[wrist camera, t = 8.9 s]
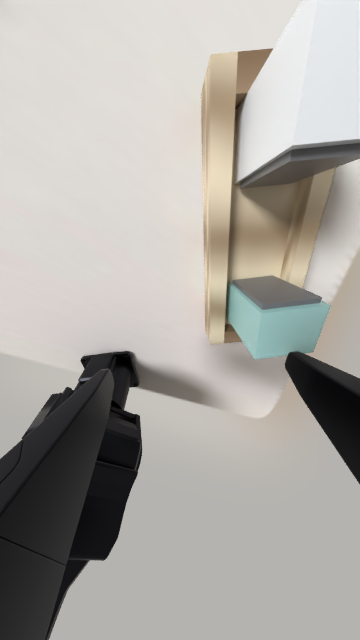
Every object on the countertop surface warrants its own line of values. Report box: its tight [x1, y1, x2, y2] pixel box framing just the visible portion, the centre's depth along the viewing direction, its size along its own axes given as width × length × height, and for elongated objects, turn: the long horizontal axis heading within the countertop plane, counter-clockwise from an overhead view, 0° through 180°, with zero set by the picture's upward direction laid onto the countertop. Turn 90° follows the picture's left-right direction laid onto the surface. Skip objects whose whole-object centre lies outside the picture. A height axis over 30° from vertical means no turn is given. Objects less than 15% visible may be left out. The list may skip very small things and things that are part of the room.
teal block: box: [227, 275, 331, 359], centre depth 15 cm, size 4×5×7 cm
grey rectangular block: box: [234, 0, 360, 189], centre depth 9 cm, size 4×5×7 cm
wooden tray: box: [201, 48, 336, 345], centre depth 15 cm, size 20×9×3 cm, turn 5°
